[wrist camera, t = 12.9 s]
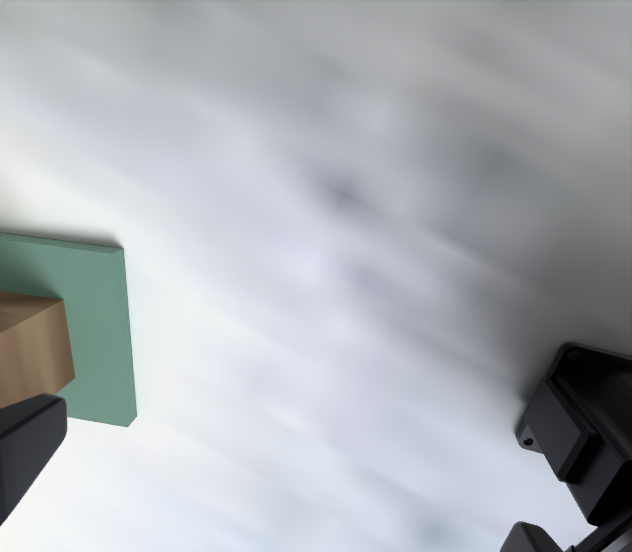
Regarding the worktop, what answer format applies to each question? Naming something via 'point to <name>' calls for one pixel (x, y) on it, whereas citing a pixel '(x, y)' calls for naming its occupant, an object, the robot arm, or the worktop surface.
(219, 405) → the worktop surface
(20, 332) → the walnut block
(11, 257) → the green mat
